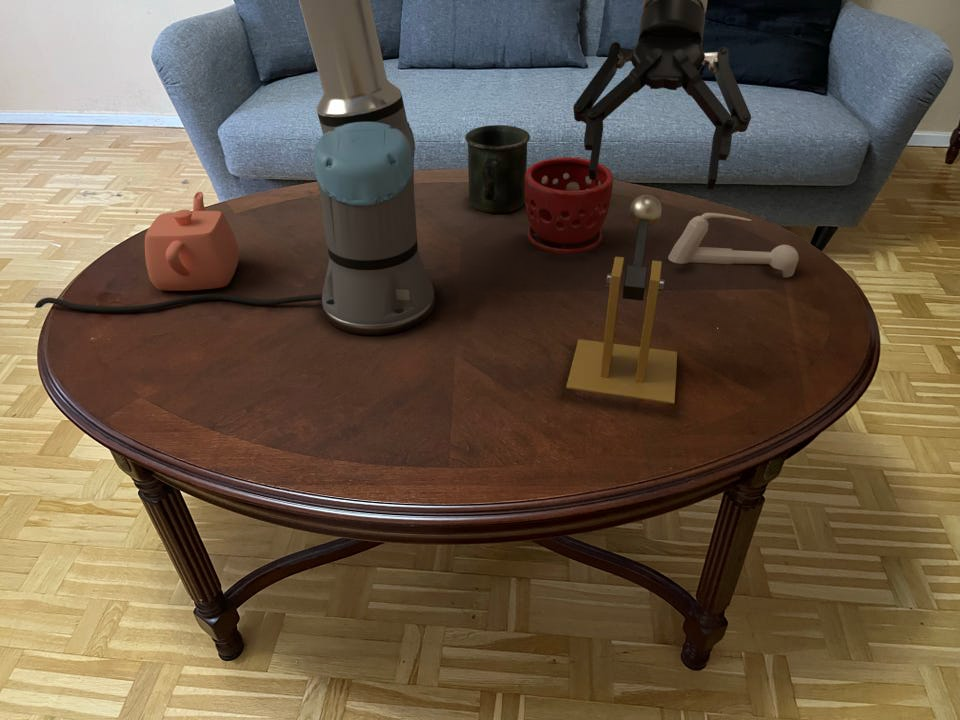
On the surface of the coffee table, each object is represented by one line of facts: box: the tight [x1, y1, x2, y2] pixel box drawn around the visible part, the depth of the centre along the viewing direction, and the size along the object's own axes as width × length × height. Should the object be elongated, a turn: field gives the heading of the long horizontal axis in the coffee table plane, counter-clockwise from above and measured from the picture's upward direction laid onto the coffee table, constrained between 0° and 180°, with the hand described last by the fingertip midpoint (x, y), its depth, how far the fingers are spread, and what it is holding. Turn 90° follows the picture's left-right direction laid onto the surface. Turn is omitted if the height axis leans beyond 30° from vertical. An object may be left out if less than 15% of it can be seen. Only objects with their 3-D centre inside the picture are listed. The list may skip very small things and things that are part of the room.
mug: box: [464, 124, 531, 214], centre depth 122 cm, size 11×15×12 cm
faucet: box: [667, 212, 800, 279], centre depth 104 cm, size 4×18×10 cm, turn 82°
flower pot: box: [524, 156, 614, 255], centre depth 109 cm, size 13×13×12 cm
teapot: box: [144, 191, 240, 292], centre depth 103 cm, size 12×18×10 cm, turn 4°
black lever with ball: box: [622, 194, 663, 302], centre depth 79 cm, size 13×4×4 cm, turn 166°
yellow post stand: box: [565, 256, 678, 405], centre depth 80 cm, size 10×12×15 cm
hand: (650, 180), depth 83 cm, fingers open, 13 cm apart
